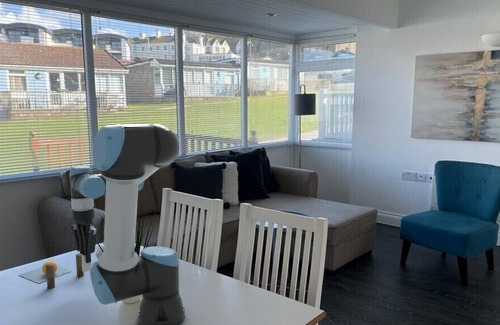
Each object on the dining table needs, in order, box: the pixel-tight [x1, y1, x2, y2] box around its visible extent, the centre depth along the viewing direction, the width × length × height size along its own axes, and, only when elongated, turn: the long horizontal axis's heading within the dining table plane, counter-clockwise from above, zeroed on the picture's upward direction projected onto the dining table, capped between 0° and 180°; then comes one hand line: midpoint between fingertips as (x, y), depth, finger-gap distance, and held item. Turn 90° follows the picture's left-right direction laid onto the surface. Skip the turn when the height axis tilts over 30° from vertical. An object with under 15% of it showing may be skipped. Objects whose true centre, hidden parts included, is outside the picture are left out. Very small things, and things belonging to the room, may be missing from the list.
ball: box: [42, 260, 58, 274], centre depth 166 cm, size 6×6×6 cm
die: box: [95, 243, 104, 260], centre depth 180 cm, size 8×9×10 cm
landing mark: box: [18, 265, 72, 284], centre depth 167 cm, size 14×14×1 cm
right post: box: [75, 252, 85, 278], centre depth 164 cm, size 3×3×9 cm
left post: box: [46, 263, 56, 290], centre depth 154 cm, size 3×3×9 cm
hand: (86, 270), depth 151 cm, fingers closed
